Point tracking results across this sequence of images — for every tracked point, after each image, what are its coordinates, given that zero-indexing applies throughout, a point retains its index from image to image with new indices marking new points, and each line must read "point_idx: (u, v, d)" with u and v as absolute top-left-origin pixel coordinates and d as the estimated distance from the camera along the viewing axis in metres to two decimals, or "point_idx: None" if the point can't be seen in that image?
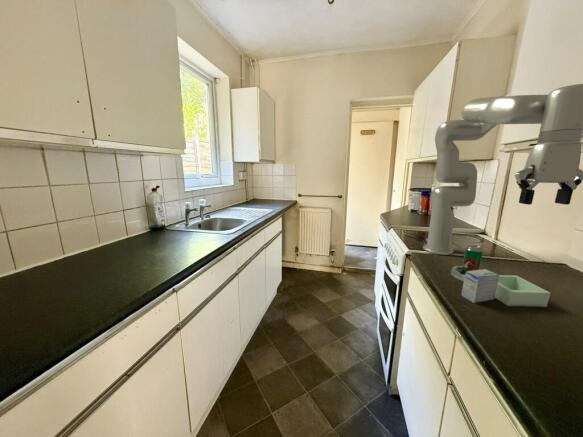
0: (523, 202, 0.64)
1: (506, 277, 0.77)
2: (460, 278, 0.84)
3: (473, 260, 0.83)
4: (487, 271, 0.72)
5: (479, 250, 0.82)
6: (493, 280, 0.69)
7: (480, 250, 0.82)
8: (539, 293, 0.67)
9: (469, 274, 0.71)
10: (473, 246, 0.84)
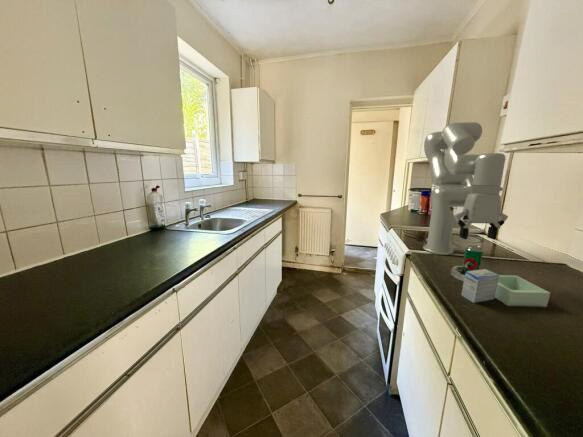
0: (462, 237, 0.83)
1: (506, 277, 0.77)
2: (460, 278, 0.84)
3: (473, 260, 0.83)
4: (487, 271, 0.72)
5: (479, 250, 0.82)
6: (493, 280, 0.69)
7: (480, 250, 0.82)
8: (539, 293, 0.67)
9: (469, 274, 0.71)
10: (473, 246, 0.84)
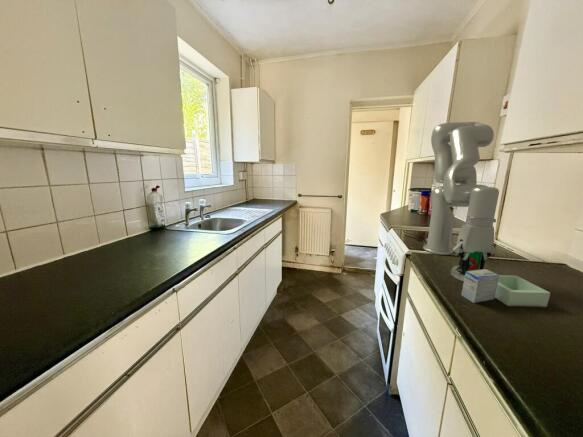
0: (461, 267, 0.86)
1: (506, 277, 0.77)
2: (460, 278, 0.84)
3: (473, 260, 0.82)
4: (487, 271, 0.72)
5: (479, 250, 0.82)
6: (493, 280, 0.69)
7: None
8: (539, 293, 0.67)
9: (469, 274, 0.71)
10: None
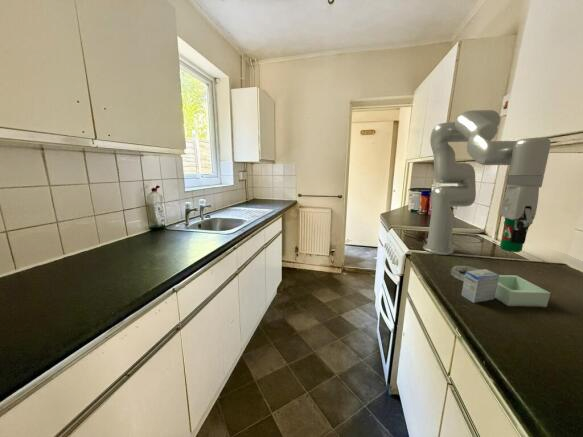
0: (516, 242, 0.69)
1: (506, 277, 0.77)
2: (460, 278, 0.84)
3: None
4: (487, 271, 0.72)
5: None
6: (493, 280, 0.69)
7: None
8: (539, 293, 0.67)
9: (469, 274, 0.71)
10: None
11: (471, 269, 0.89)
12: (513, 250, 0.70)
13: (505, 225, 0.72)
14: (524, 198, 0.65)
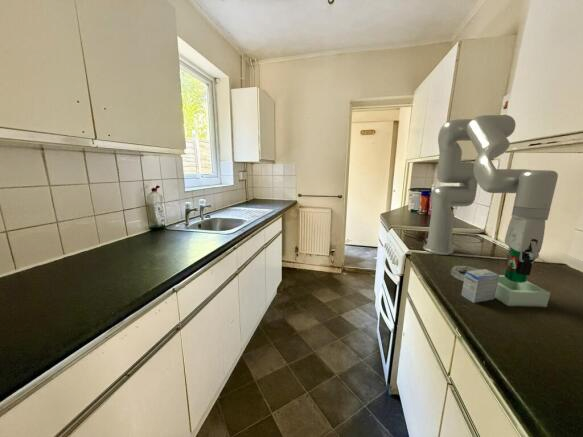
0: (521, 273, 0.68)
1: None
2: (460, 278, 0.84)
3: None
4: (487, 271, 0.72)
5: None
6: (493, 280, 0.69)
7: None
8: (539, 293, 0.67)
9: (469, 274, 0.71)
10: None
11: (471, 269, 0.89)
12: (518, 281, 0.70)
13: (510, 255, 0.71)
14: (530, 231, 0.64)
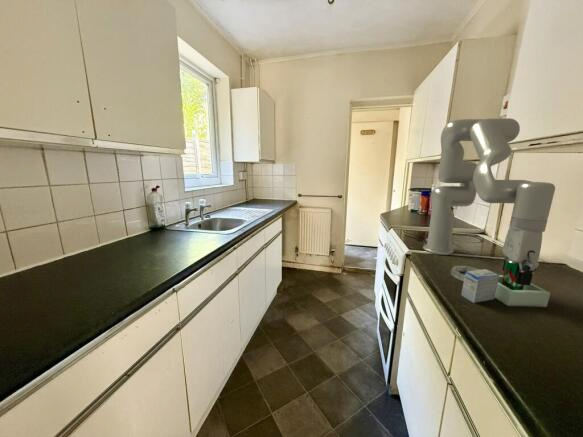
0: (522, 283, 0.68)
1: None
2: (460, 278, 0.84)
3: None
4: (487, 271, 0.72)
5: None
6: (493, 280, 0.69)
7: None
8: (539, 293, 0.67)
9: (469, 274, 0.71)
10: None
11: (471, 269, 0.89)
12: None
13: (505, 270, 0.73)
14: (527, 242, 0.65)
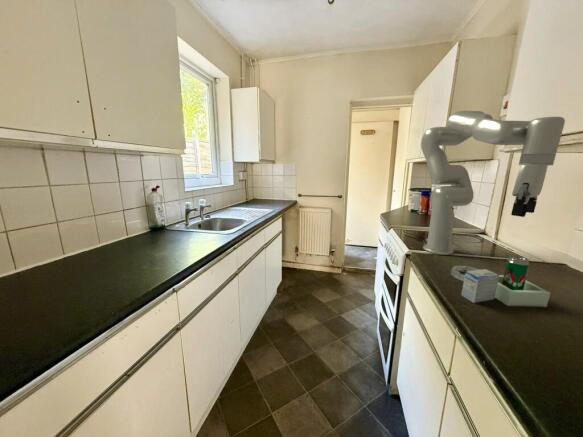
0: (517, 214, 0.73)
1: None
2: (460, 278, 0.84)
3: None
4: (487, 271, 0.72)
5: None
6: (493, 280, 0.69)
7: None
8: (539, 293, 0.67)
9: (469, 274, 0.71)
10: (517, 259, 0.71)
11: (471, 269, 0.89)
12: None
13: (506, 270, 0.72)
14: (522, 175, 0.71)
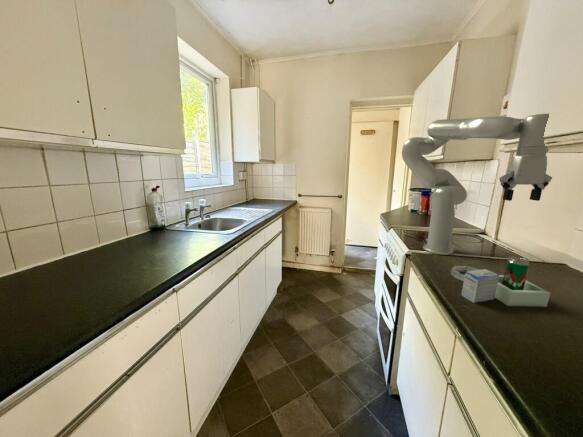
0: (505, 199, 0.85)
1: None
2: (460, 278, 0.84)
3: None
4: (487, 271, 0.72)
5: None
6: (493, 280, 0.69)
7: None
8: (539, 293, 0.67)
9: (469, 274, 0.71)
10: (517, 259, 0.71)
11: (471, 269, 0.89)
12: None
13: (506, 270, 0.72)
14: (511, 165, 0.84)
